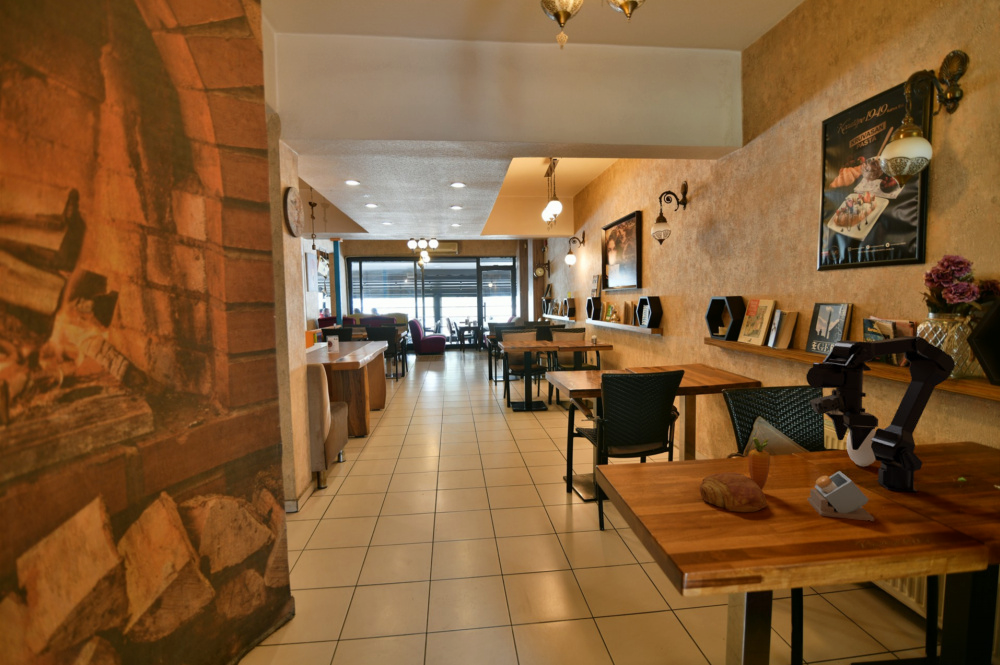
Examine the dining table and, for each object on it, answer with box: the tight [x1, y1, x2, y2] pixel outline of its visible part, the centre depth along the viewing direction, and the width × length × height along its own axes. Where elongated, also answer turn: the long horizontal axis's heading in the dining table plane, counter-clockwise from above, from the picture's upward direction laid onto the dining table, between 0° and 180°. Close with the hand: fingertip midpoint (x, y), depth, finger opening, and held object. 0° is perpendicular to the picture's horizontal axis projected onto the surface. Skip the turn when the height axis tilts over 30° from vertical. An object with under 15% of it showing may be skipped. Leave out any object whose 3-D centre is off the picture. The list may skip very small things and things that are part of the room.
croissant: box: [699, 471, 768, 513], centre depth 117 cm, size 14×16×8 cm
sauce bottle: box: [846, 428, 876, 468], centre depth 143 cm, size 8×8×18 cm
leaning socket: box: [807, 470, 875, 522], centre depth 111 cm, size 11×9×9 cm
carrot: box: [748, 436, 771, 491], centre depth 123 cm, size 5×5×15 cm
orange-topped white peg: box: [815, 475, 838, 494], centre depth 112 cm, size 3×3×7 cm
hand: (847, 444), depth 123 cm, fingers open, 9 cm apart
